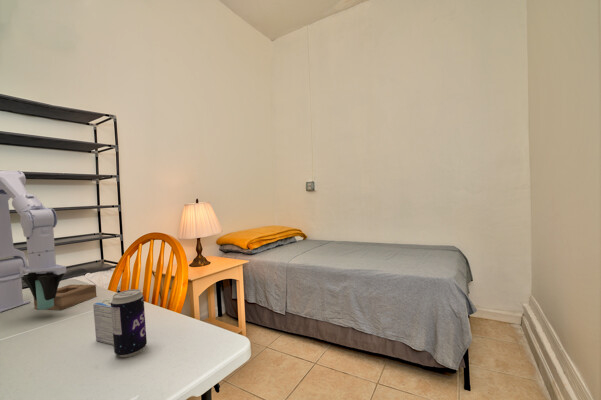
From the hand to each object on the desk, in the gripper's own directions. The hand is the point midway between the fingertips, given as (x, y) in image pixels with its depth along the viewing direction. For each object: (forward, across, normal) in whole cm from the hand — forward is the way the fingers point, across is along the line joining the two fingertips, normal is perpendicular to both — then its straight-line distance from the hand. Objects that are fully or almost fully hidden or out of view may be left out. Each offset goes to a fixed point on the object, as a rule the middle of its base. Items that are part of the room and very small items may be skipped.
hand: (45, 298), depth 79 cm
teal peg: (+2, 0, 0) cm, 2 cm away
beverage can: (+5, +42, -13) cm, 44 cm away
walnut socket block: (+5, -6, +10) cm, 13 cm away
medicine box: (+5, +34, -9) cm, 36 cm away
